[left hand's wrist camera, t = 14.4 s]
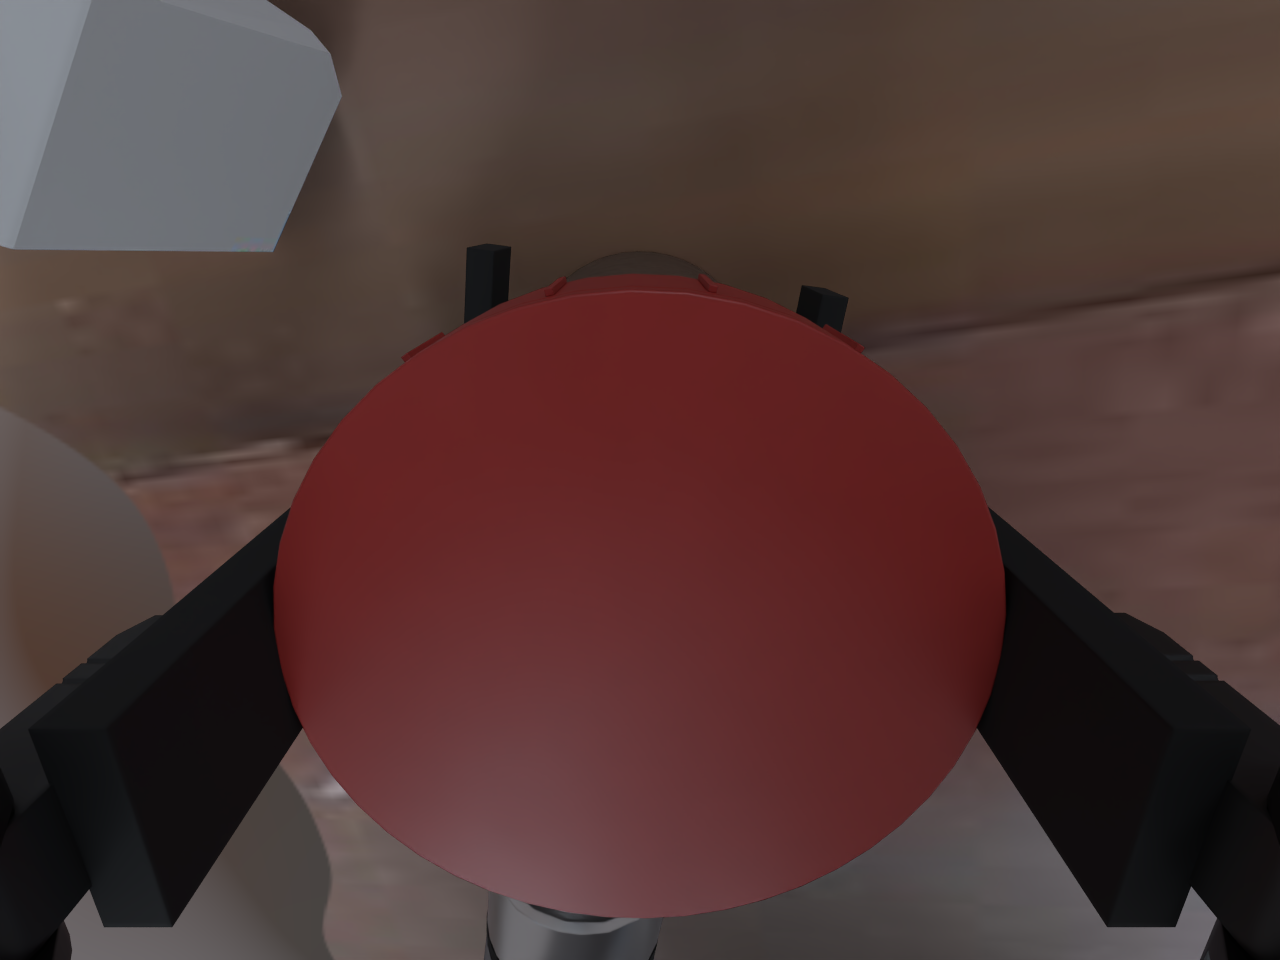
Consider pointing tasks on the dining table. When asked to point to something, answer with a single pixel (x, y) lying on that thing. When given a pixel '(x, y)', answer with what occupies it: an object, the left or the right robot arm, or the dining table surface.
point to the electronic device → (156, 123)
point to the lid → (639, 599)
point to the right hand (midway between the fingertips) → (658, 269)
